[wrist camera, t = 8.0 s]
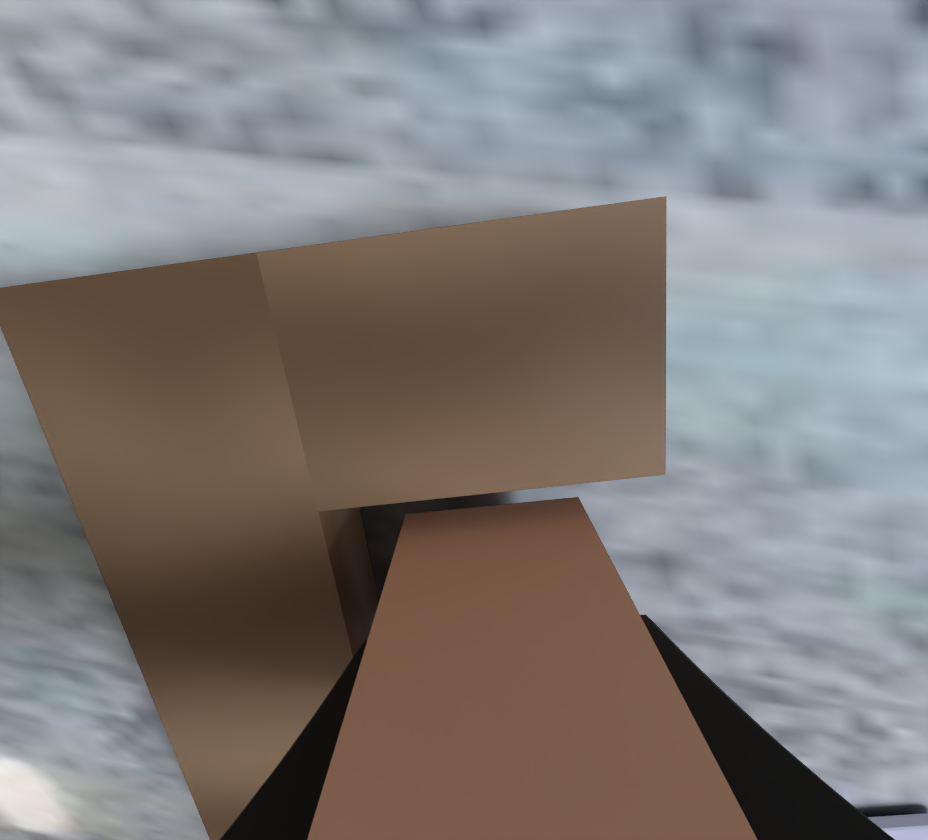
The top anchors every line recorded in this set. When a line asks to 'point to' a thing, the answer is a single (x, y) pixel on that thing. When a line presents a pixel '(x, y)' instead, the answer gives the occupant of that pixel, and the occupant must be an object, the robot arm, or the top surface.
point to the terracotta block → (517, 697)
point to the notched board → (325, 437)
